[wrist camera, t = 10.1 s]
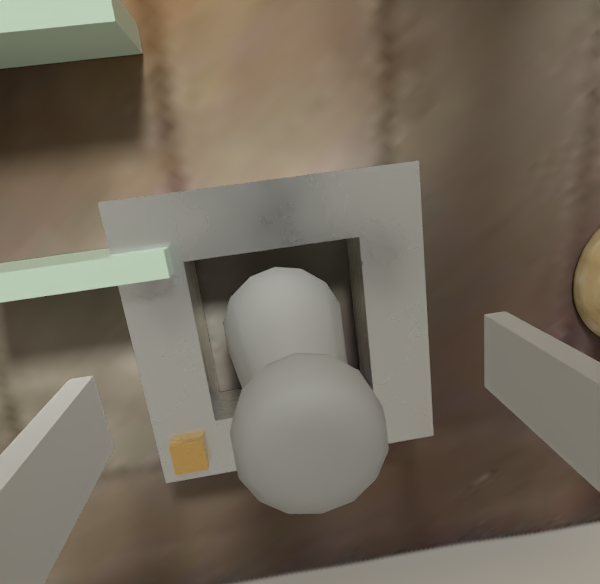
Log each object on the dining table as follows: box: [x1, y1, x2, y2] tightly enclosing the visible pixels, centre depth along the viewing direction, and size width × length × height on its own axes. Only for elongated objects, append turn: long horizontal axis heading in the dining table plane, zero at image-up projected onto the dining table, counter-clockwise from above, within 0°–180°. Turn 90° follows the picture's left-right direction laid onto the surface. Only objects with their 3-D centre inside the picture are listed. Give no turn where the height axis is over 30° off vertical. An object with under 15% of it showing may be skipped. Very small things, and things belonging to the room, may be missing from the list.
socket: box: [98, 160, 434, 483], centre depth 21 cm, size 14×14×4 cm
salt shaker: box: [223, 267, 389, 514], centre depth 17 cm, size 6×6×13 cm
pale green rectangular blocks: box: [0, 0, 174, 303], centre depth 18 cm, size 11×9×4 cm
